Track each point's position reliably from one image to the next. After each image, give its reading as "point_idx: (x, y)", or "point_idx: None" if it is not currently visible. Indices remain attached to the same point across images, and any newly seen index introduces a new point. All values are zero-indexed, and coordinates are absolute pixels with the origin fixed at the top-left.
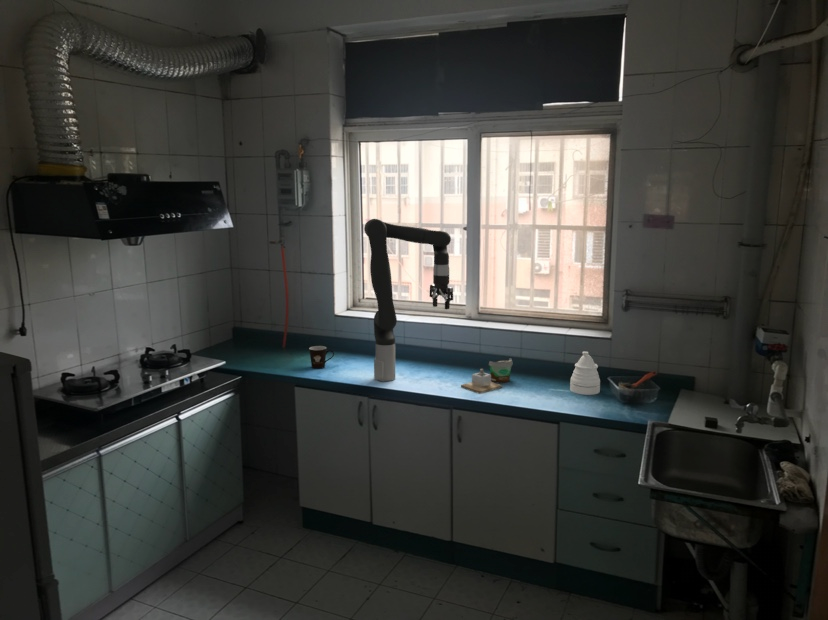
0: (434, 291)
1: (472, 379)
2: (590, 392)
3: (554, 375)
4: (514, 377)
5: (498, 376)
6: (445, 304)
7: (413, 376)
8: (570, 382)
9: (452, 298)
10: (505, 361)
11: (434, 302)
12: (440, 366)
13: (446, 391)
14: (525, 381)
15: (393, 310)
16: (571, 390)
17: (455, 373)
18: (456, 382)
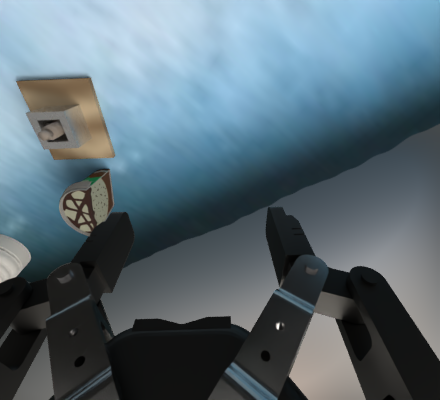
0: (288, 362)
1: (69, 107)
2: None
3: None
4: None
5: (84, 179)
6: (97, 238)
7: (250, 24)
8: (5, 248)
9: (14, 329)
10: (85, 220)
11: (276, 235)
12: (271, 156)
13: (63, 4)
14: None
15: None
16: (1, 235)
17: (202, 147)
18: (134, 96)
